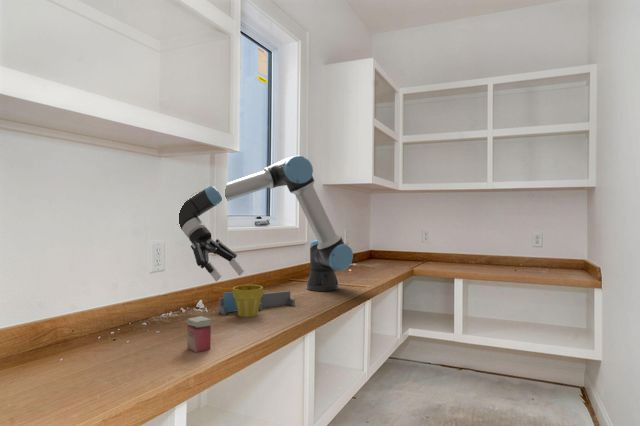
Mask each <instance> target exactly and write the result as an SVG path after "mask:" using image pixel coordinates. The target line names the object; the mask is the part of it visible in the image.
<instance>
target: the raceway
mask: <svg viewBox="0 0 640 426" xmlns="http://www.w3.org/2000/svg"><path fill="white" fill-rule="evenodd" d="M218 299H219V303H218V308H219V309H218V311H219V312H218V313H220V314H222V315H223V316H226V315H227V313H229V312H238V311H237V306H236V302H235V298H233V291H230V292H229V291H228V292H223V297H219V298H218ZM285 305H290V306H292V307H295V306H296V299H294V298H293V297H291V291H290V290H284V291H275V292H274V291H273V292H266V293H265V292H263V296H262V297H261V300H260V305H259V309H258V311H263V308H269V307H277V306H285Z"/></svg>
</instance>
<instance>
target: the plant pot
mask: <svg viewBox="0 0 640 426" xmlns="http://www.w3.org/2000/svg"><path fill="white" fill-rule="evenodd" d="M232 292H233V298H235V302H236V306H237V311H236V312H237V315H238V316H239V317H240V318H241V317H242V318H253V317H256V316H257V315H258V314H259V310H258V309H259V305H260V300H261V297H262V296H263V293H264V286H262V285H258V284H240V285H236V286H233V287H232Z"/></svg>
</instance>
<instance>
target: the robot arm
mask: <svg viewBox="0 0 640 426" xmlns="http://www.w3.org/2000/svg"><path fill="white" fill-rule="evenodd" d="M313 172H314V169H313V165H312V162H310V160H309V159H308V158H307V157H304V156H302V155H291V156H289V157H286V158H284V159H280V161H278V162H275V163H274V164H270V165H269V166H267V167H264V168H263V169H262V170H261V171H259V172H256V173H252V174H249V175H247V176H244V177H240V178H237V179H234V180H231V181H229V182H226V183H227V186H226V189H225V197H226V199H227V202H230V201H232V200H235V199H238V198H241V197H245V196H247V195H250V194H253V193H255V192H258V191H261V190H265V189H267V188H268V189H274V188H277V187H283V186H284V187H285V186H286V187H287V188H288V191H289V193H290V194H293V195H295V197H296V200H297V201H298V203H299V205H300V207H301V210H302V211H303V214H304V216H305V218H306V220H307V222H308V224H309V226H310V228H311V230H312V233H313V234H314V236H315V238H316V240H312V241H311V242H310V245H309V253H310V254H309V260H310V262H309V263H310V264H309V265H310V266H309V267H310V270H309V271H310V272H309V274H308V275H309V276H308V279H307V281H306V289H307V290H309V291H313V292H332V291H337V290H339V282H338V279H337V275H336V272H337V271H338V272H339V271H340V272H342V271H346V269H348V268H349V267H351V265H352V262H353V260H354V253H353V250H352V249H353V248H351V247H350V246H349V245H348V244H346V243H345V242H344V239H343V237H342V236H341V235H339V234H337V233H336V231H335V229H334V227H333V225H332V222H331V220H330V218H329V216H328V214H327V212H326V210H325V208H324V206H323V204H322V202H321V199H320V197H319V196H318V193H317V191H316V189H315V188H314V187H315V186H314V184H315V178H314V176H313ZM215 187H216V186H213V185H210V186H208V187H205V188H204V189H203V190H201V191H198V192H199V193H198V194H196V195H195V196H193V197H192V198H190V197H189V198H188V199H189V200H188V199H186V200H187V201H186V200H185V201H186V202H185V203H184V205H183V206H182V208H181V210H180V213H179V224H180V227H181V228H180V227H179V228H180V229H181V231H182V232H183V234H185V236H186V237H187V239H188V240H189V241H190V242H191V245H190V248H191V249H192V251H193V255H194V259H195V262H196V265H197V266H198V267H200V268H201V269H206V271H207V272H208V273H209V275H210V276H211V277H212V278H213V280H214V281H215V282H218V281H219V280H220V279H221V278H222V276H223V275H222V274H221V273H220V272H219V270H218V269H217V268H216V266H215V265H214V264H213V262H212V261H210V260H209V259H210V257H209V256H210V255H209V254H213V255H218V256H219V257H221V258H223V259H225V260H226V261H228V264H229V265H230V266H231V268H233V270H234V271H235V272H236V273H237V275H238V276H239V277H240V276H242V275H243V273H244V272H245V269H244V268H243V267H242V265H241V264H240V263H239V262H238V260H237V259H236V258H237V257H238V255H237V254H236V253H235V252H234V251H233V250H231V249H230V248H229V247H228V246H226V245H225V244H224V243H223V242H221V241H220V239H216V240H213V239H212V233H211V231H210V230H209V229H208V227H206V225H205V224H204V222H203V221H202V220H201V219H200V218H199V217H200V216H202V215H203V214H204V213H206V212H208V211H209V210H212V208H214V207H216V206H218V205H220V204H219V203H220V202H221V201H222V197H221V195H220V193H219V192H218V190H217V189H216V188H215ZM217 204H218V205H217ZM335 271H336V272H335Z"/></svg>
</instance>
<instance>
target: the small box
mask: <svg viewBox="0 0 640 426" xmlns="http://www.w3.org/2000/svg"><path fill="white" fill-rule="evenodd" d="M211 324H212V319H211V318H208V317H205V316H202V315H200V316H196V317H190V318H187V336H186V337H187V339H186V341H187V349H189V350H191V351H192V352H195V353H200V352H204V351H208V350H210V349H211V345H212V344H211V343H212V341H211V339H212V338H211V334H212V330H211V329H212V327H211V326H212V325H211Z"/></svg>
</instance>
